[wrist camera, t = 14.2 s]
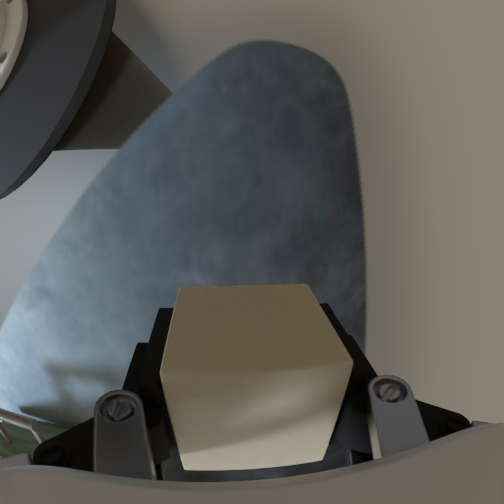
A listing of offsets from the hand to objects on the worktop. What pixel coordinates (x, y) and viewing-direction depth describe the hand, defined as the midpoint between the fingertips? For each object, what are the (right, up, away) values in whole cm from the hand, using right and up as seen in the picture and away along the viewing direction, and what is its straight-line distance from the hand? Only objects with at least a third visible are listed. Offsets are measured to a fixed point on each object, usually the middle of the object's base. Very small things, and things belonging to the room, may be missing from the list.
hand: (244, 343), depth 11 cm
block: (0, 0, 0) cm, 0 cm away
